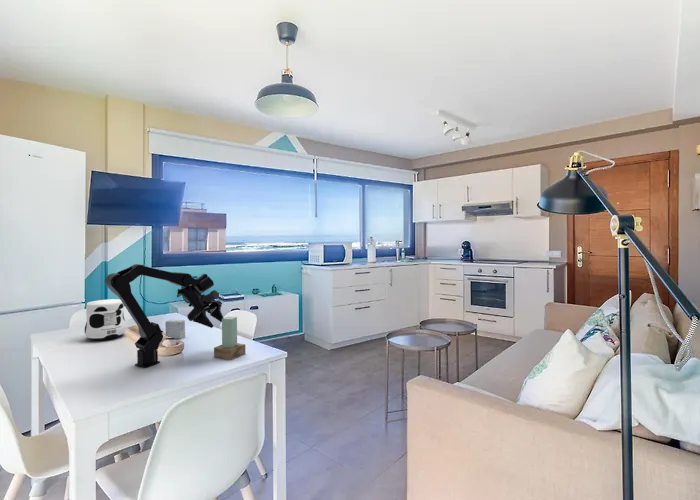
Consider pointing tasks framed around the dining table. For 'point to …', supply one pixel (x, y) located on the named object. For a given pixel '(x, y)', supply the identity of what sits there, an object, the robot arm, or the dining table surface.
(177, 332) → the medicine box
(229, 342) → the tall green block
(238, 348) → the walnut block
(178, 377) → the dining table surface
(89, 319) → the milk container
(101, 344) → the dining table surface
